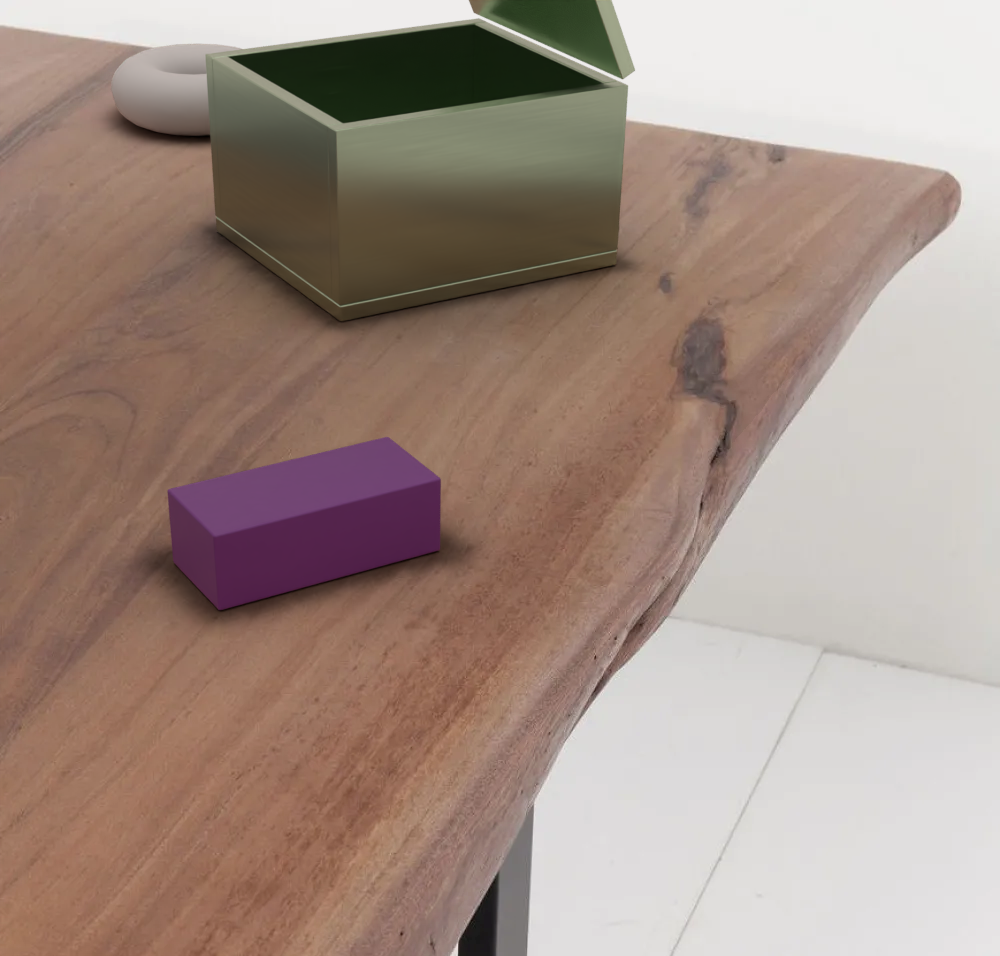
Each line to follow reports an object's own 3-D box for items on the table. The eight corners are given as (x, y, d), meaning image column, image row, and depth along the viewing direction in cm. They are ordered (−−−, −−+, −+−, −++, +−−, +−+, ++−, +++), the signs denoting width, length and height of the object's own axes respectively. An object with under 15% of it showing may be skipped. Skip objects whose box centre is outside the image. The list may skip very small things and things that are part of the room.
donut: (95, 105, 114) (139, 150, 107) (89, 45, 112) (133, 87, 105) (253, 89, 117) (306, 132, 110) (250, 31, 116) (304, 71, 108)
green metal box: (340, 322, 87) (335, 130, 82) (215, 231, 97) (204, 53, 91) (617, 265, 94) (628, 85, 89) (475, 185, 103) (479, 18, 98)
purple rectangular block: (218, 611, 66) (213, 535, 64) (172, 562, 69) (166, 488, 67) (441, 550, 70) (441, 477, 68) (388, 506, 73) (388, 435, 71)
